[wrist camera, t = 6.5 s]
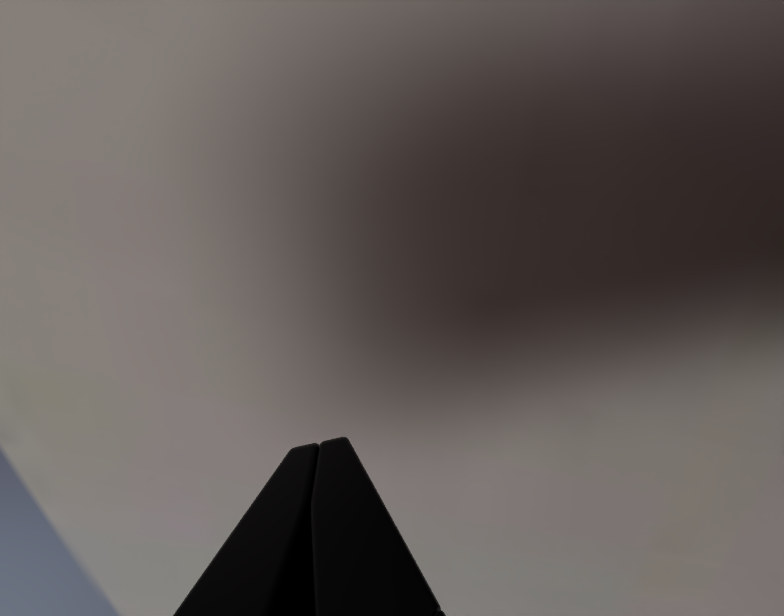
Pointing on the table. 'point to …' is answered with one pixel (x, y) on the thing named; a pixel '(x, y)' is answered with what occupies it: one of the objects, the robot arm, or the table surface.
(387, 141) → the table surface
